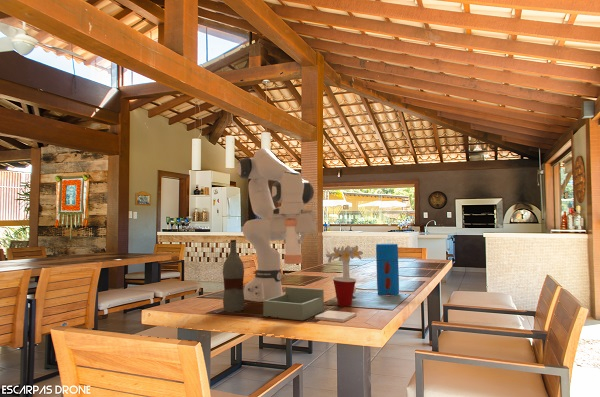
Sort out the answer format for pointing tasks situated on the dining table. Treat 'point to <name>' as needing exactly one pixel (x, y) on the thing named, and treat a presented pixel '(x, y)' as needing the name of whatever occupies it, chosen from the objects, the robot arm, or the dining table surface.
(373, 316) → the dining table surface
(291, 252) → the pepper shaker
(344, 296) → the plastic cup
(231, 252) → the bottle
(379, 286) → the blue tall boxy piece
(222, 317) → the dining table surface
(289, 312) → the grey open box
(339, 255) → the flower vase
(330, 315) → the ceramic tile
